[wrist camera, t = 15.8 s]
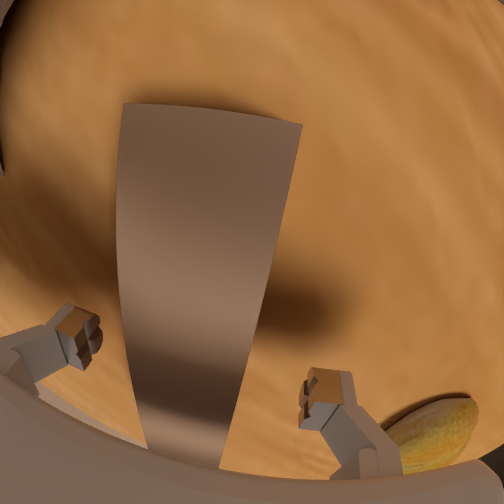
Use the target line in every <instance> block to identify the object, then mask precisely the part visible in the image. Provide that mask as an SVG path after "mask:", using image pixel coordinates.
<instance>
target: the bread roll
mask: <svg viewBox="0 0 504 504" xmlns="http://www.w3.org/2000/svg"><path fill="white" fill-rule="evenodd" d="M478 414H479V410H478V406H477V404H476V402H475V401H474V400H473V399H470V398H449V399H442V400H438V401H435V402H432V403H429V404H427V405H425V406H422V407H421V408H419V409H417V410H415V411H413V412H411V413H410V414H408V415H407V416H405V417H404V418H403V419H401V420H399V421H398V422H396V423H395V424H394V425H392V426H391V427H390V428H389V429H387V430H386V431H385V433H386V434H387V435H388V436H389V437H390V438H391V439H392V440H393V441H394V442H395V443H396V444H397V445H398V447H399V453H400V458H401V463H402V469H403V475H405V474H412V473H418V472H423V471H428V470H433V469H438V468H443V467H447V466H450V465H451V464H452V463H453V462H454V461H455V460H456V459H457V458H458V457H459V456H460V454H461V453H462V452H463V450H464V449H465V447H466V445H467V444H468V442H469V440H470V436H471V433H472V431H473V429H474V427H475V425H476V423H477V420H478Z"/></svg>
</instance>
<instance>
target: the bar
mask: <svg viewBox="0 0 504 504" xmlns="http://www.w3.org/2000/svg"><path fill="white" fill-rule="evenodd" d="M302 126H303V125H302V124H297V123H293V122H288V121H283V120H278V119H273V118H268V117H263V116H257V115H251V114H245V113H238V112H231V111H224V110H216V109H208V108H199V107H188V106H176V105H161V104H134V103H124V106H123V114H122V122H121V131H120V140H119V152H118V166H117V186H116V250H117V271H118V285H119V297H120V307H121V316H122V324H123V332H124V339H125V346H126V353H127V359H128V364H129V370H130V375H131V381H132V386H133V390H134V395H135V400H136V404H137V408H138V413H139V417H140V421H141V425H142V429H143V432H144V436H145V440H146V443H147V446H148V449H149V450H152V451H155V452H158V453H161V454H164V455H167V456H171V457H174V458H177V459H181V460H185V461H188V462H192V463H196V464H200V465H205V466H209V467H214V468H218V467H219V463H220V460H221V456H222V453H223V449H224V446H225V442H226V439H227V435H228V431H229V428H230V424H231V421H232V417H233V413H234V410H235V406H236V402H237V398H238V395H239V391H240V387H241V383H242V380H243V376H244V372H245V368H246V364H247V361H248V357H249V353H250V349H251V345H252V341H253V337H254V333H255V329H256V325H257V321H258V317H259V313H260V309H261V305H262V301H263V297H264V293H265V289H266V285H267V281H268V277H269V273H270V268H271V264H272V260H273V256H274V252H275V247H276V243H277V239H278V235H279V230H280V226H281V222H282V217H283V213H284V208H285V204H286V200H287V195H288V191H289V186H290V182H291V177H292V173H293V168H294V163H295V159H296V154H297V150H298V145H299V140H300V135H301V131H302Z"/></svg>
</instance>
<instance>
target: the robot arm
mask: <svg viewBox="0 0 504 504" xmlns="http://www.w3.org/2000/svg"><path fill="white" fill-rule="evenodd" d="M99 324H100V318H99V316H98V315H97V314H94V313H92V312H89V311H87V310H84V309H82V308H79V307H76V306H74V305H72V304H69V303H67V304H65V305H64V306H63V307H62V308H61V309H60V310H59V311H58V312H57V313H56V314H55V315H54V316H53V317H52V318H51V319H50V320H49V321H48V322H47V323H46V324H45V325H43V324H41V325H38V326H35V327H32V328H29V329H26V330H23V331H20V332H17V333H14V334H11V335H8V336H5V337H2V338H0V504H504V490H503V487H502V483H501V481H500V478H499V477H498V476H497V475H496V474H495V473H494V472H493V471H492V470H491V469H490V468H489V467H488V466H487V465H486V464H485V463H483V462H482V461H480V460H478V459H474V460H469V461H466V462H462V463H459V464H455V465H451V466H447V467H443V468H438V469H433V470H428V471H423V472H418V473H412V474H405V475H403V469H402V463H401V458H400V453H399V447H398V445H397V444H396V443H395V442H394V441H393V440H392V439H391V438H390V437H389V436H388V435H387V434H386V433H385V431H384V430H383V429H382V428H381V427H380V426H379V425H378V424H377V423H376V422H375V421H374V419H373V418H372V417H371V416H370V415H369V414H368V413H367V412H366V411H365V410H364V408H363V407H362V406H358V404H357V398H356V393H355V387H354V382H353V377H352V373H351V372H350V371H340V370H331V369H322V368H314V367H311V368H310V370H309V372H308V374H307V376H308V379H307V380H305V381H304V382H303V384H302V386H301V390H300V394H299V405H300V407H301V408H302V409H301V411H300V413H299V429H307V430H316V431H320V432H321V434H322V436H323V437H324V439H325V440H326V442H327V444H328V445H329V447H330V448H331V450H332V452H333V453H334V455H335V456H336V458H337V459H338V461H339V463H340V464H341V466H342V467H341V468H339V469H338V470H337V471H336V472H335V473H333V474H332V475H331V476H330V480H308V479H290V478H279V477H269V476H261V475H253V474H246V473H240V472H234V471H229V470H223V469H218V468H214V467H209V466H205V465H200V464H196V463H192V462H188V461H185V460H181V459H177V458H174V457H171V456H167V455H164V454H161V453H158V452H155V451H152V450H149V449H145V448H143V447H140V446H137V445H135V444H132V443H129V442H127V441H124V440H122V439H119V438H117V437H114V436H112V435H109V434H107V433H105V432H103V431H101V430H98V429H96V428H94V427H92V426H90V425H88V424H86V423H84V422H82V421H80V420H78V419H76V418H74V417H72V416H70V415H68V414H66V413H64V412H63V411H61V410H59V409H57V408H55V407H53V406H52V405H50V404H48V403H47V402H45V401H43V400H41V399H40V398H39V397H38V396H39V391H38V389H37V387H36V386H35V384H34V383H36V382H37V381H39V380H41V379H43V378H45V377H47V376H49V375H50V374H52V373H54V372H56V371H58V370H60V369H61V368H63V367H65V366H67V365H68V364H69V365H71V366H74V367H76V368H78V369H81V370H83V371H85V369H86V368H87V367H88V365H89V364H90V362H91V361H92V355H93V354H95V353H97V352H98V351H99V349H100V348H101V345H102V342H103V333H102V330H101V329H100V327H99V326H98V325H99Z"/></svg>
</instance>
